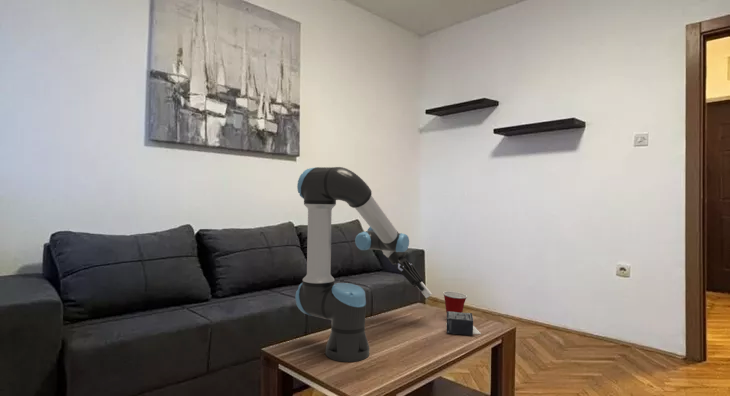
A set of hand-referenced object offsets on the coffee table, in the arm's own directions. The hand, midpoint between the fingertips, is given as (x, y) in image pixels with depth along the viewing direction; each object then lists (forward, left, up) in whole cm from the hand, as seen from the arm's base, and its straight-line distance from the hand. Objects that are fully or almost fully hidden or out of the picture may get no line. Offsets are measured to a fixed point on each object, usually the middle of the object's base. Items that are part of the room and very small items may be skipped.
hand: (429, 296), depth 175 cm
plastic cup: (+14, +12, -14) cm, 23 cm away
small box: (+7, -3, -10) cm, 12 cm away
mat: (+14, -1, -13) cm, 20 cm away
